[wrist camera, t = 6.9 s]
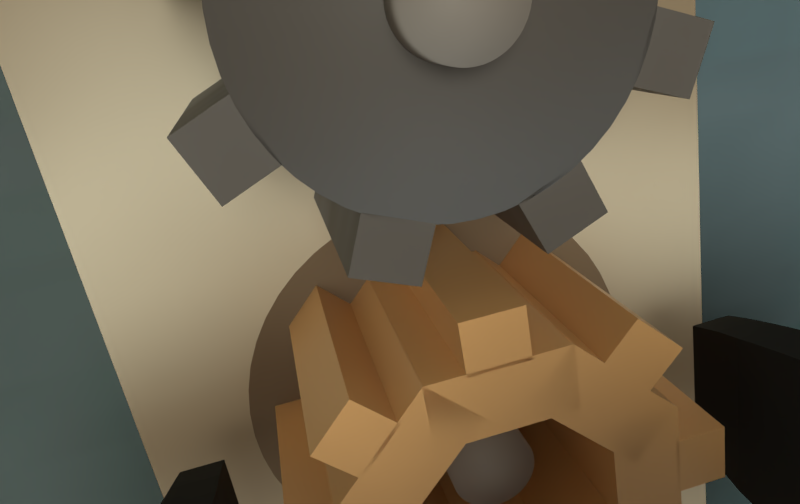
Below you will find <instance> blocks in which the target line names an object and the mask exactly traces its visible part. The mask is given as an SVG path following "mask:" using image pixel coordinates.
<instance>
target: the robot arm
mask: <svg viewBox="0 0 800 504" xmlns="http://www.w3.org/2000/svg"><path fill="white" fill-rule="evenodd" d="M693 354H694V391H695V403H696V404H698V405H699V406H700V407H701V408H702V409H704V410H705V411H706V412H707V413H708V414H710V415H711V416H712V417H713V418H714V419H716V420H717V421H718V422H719V423H720V424H722V425H723V426H724V427H725V474H726V475H727V477H728V478H729V479H730V480H731V481H732V483H733V484H734V485H735V486H736V487H737V488H738V490H739V491H740V492H741V493H742V494H743V495H744V496H745V497H746V498H747V499H748V500H749V501H750V502H751V503H752V504H800V330H797V329H793V328H789V327H785V326H780V325H776V324H771V323H767V322H762V321H757V320H752V319H747V318H740V317H734V316H725V317H722V318H718V319H715V320H711V321H708V322H704V323H701V324H697V325H694V326H693ZM161 504H239V503H238V500H237V497H236V494H235V490H234V487H233V484H232V481H231V478H230V475H229V472H228V469H227V466H226V463H225V460H221V461H217V462H214V463H210V464H207V465H203V466H200V467H196V468H193V469H189V470H186V471H182V472H180V473H179V474H178V476H177V478H176V479H175V481H174V482H173V484H172V486H171V487H170V489H169V491H168V492H167V494H166V496H165V497H164V499H163V501H162V503H161Z"/></svg>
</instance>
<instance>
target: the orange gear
mask: <svg viewBox="0 0 800 504" xmlns="http://www.w3.org/2000/svg"><path fill="white" fill-rule="evenodd" d="M289 329H290V335H291V341H292V348H293V354H294V360H295V366H296V372H297V378H298V385H299V391H300V397H301V399H299V400H295V401H292V402H288V403H284V404H281V405H277V406H275V412H276V423H277V434H278V445H279V456H280V467H281V478H282V489H283V500H284V504H471V503H468V502H467V501H465V500H464V499H462V498H461V497H460V496H459V495H458V493H457V492H456V490H455V488H454V486H453V483H452V481H451V479H450V477H449V475H448V473H447V469H448V468H449V466H450V465H451V464H452V462H453V461H454V459H455V458H456V457H457V455H458V454H459V453H460V451H461V450H462V448H463V447H464V446H465V444H467V443H470V442H474V441H477V440H480V439H484V438H487V437H490V436H494V435H497V434H500V433H504V432H507V431H511V430H514V429H517V428H518V429H519V431H520V432H521V434H522V435H523V437H524V438H525V440H526V441H527V443H528V444H529V445H530V447H531V449H532V451H533V455H534V469H533V473H532V475H531V478H530V480H529V481H528V483H527V484H526V486H525V487H524V488H523V489H522V490H521V491H520V492H519V493H518V494H517V495H516V496H514V497H513V498H511V499H510V500H508V501H506V502H503V503H501V504H682V502H681V491H683V490H686V489H689V488H692V487H695V486H698V485H701V484H705V483H708V482H711V481H714V480H717V479H720V478H723V477H725V427H724V426H723V425H722V424H720V423H719V422H718V421H717V420H716V419H714V418H713V417H712V416H711V415H710V414H708V413H707V412H706V411H705V410H704V409H702V408H701V407H700V406H699V405H698V404H696V403H695V402H694V401H693V400H691V399H690V398H689V397H688V396H687V395H685V394H684V393H683V392H682V391H681V390H679V389H678V388H677V387H676V386H675V385H673V384H672V383H671V382H670V381H669V380H667V379H666V378H665V377H664V376H662V375H663V374H664V372H665V371H666V370H667V368H668V367H669V366H670V365H671V363H672V362H673V361H674V359H675V358H676V357H677V355H678V354H679V353H680V352H681V350H682V349H683V348H682V347H681V346H679V345H678V344H677V343H675V342H674V341H673V340H671V339H670V338H668V337H667V336H666V335H664V334H663V333H662V332H660V331H659V330H657V329H656V328H655V327H653V326H652V325H651V324H649V323H648V322H646V321H645V320H644V319H642V318H641V317H640V316H638V315H637V314H635V313H634V312H633V311H631V310H630V309H629V308H627V307H626V306H625V305H623V304H622V303H620V302H619V301H618V300H616V299H615V298H614V297H612V296H611V295H609V294H608V293H607V292H605V291H604V290H603V289H601V288H600V287H598V286H597V285H596V284H594V283H593V282H592V281H590V280H589V279H587V278H586V277H585V276H583V275H582V274H581V273H579V272H578V271H576V270H575V269H574V268H572V267H571V266H570V265H568V264H567V263H565V262H564V261H563V260H561V259H560V258H559V257H557V256H556V255H554V254H553V253H549V254H547V253H546V252H544V251H543V250H542V249H540V248H539V247H538V246H536V245H535V244H534V243H532V242H531V241H530V240H528V239H527V238H526V237H524V236H523V235H522V234H521V235H520V237H519V238H518V239H517V241H516V242H515V244H514V245H513V247H512V248H511V249H510V251H509V252H508V254H507V255H506V257H505V258H504V259H503V261H502V262H501V264H500V265H498V264H496V263H495V262H493V261H491V260H490V259H488V258H487V257H485V256H484V255H482V254H480V253H479V252H477V251H476V250H475V251H472V252H471V251H470V250H469V249H468V248H467V247H466V246H465V245H464V244H463V243H462V242H461V241H460V240H459V239H458V238H457V237H456V236H455V235H454V234H453V233H452V232H451V231H450V230H449V229H448V228H447V227H446V226H445V225H444V224H441V225H436V227H435V231H434V236H433V240H432V244H431V249H430V253H429V257H428V262H427V266H426V271H425V275H424V279H423V284H422V287H418V286H410V285H402V284H394V283H386V282H378V281H370V280H366V281H365V283H364V284H363V286H362V287H361V289H360V290H359V292H358V293H357V295H356V296H355V298H354V299H353V301H352V302H351V304H350V303H348V302H346V301H344V300H342V299H340V298H339V297H337V296H335V295H333V294H331V293H329V292H328V291H326V290H324V289H322V288H320V287H319V286H317V285H316V286H315V288H314V289H313V291H312V292H311V294H310V295H309V297H308V298H307V300H306V301H305V303H304V304H303V306H302V307H301V309H300V310H299V312H298V313H297V315H296V316H295V318H294V319H293V321H292V322H291V324H290V325H289Z"/></svg>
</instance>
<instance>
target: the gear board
mask: <svg viewBox="0 0 800 504" xmlns="http://www.w3.org/2000/svg"><path fill="white" fill-rule="evenodd" d="M714 22H715V21H711V20H708V19H704V18H700V17H697V16H695V0H0V65H1V68H2V71H3V73H4V76H5V79H6V81H7V84H8V87H9V89H10V92H11V95H12V97H13V100H14V103H15V105H16V108H17V111H18V113H19V116H20V118H21V121H22V124H23V126H24V129H25V132H26V134H27V137H28V140H29V142H30V145H31V148H32V150H33V153H34V156H35V158H36V161H37V164H38V166H39V169H40V171H41V174H42V177H43V179H44V182H45V185H46V187H47V190H48V193H49V195H50V198H51V201H52V203H53V206H54V209H55V211H56V214H57V217H58V219H59V222H60V224H61V227H62V230H63V232H64V235H65V238H66V240H67V243H68V246H69V248H70V251H71V254H72V256H73V259H74V262H75V264H76V267H77V270H78V272H79V275H80V277H81V280H82V283H83V285H84V288H85V291H86V293H87V296H88V299H89V301H90V304H91V307H92V309H93V312H94V315H95V317H96V320H97V323H98V325H99V328H100V330H101V333H102V336H103V338H104V341H105V344H106V346H107V349H108V352H109V354H110V357H111V360H112V362H113V365H114V368H115V370H116V373H117V375H118V378H119V381H120V383H121V386H122V389H123V391H124V394H125V397H126V399H127V402H128V405H129V407H130V410H131V413H132V415H133V418H134V421H135V423H136V426H137V428H138V431H139V434H140V436H141V439H142V442H143V444H144V447H145V450H146V452H147V455H148V458H149V460H150V463H151V466H152V468H153V471H154V474H155V476H156V479H157V481H158V484H159V487H160V489H161V492H162V495H163V497H165V496H166V494H167V492H168V491H169V489H170V487H171V486H172V484H173V482H174V481H175V479H176V478H177V476H178V474H179V473H180V472H182V471H186V470H189V469H193V468H196V467H200V466H203V465H207V464H210V463H214V462H217V461H221V460H225V463H226V466H227V469H228V472H229V475H230V478H231V481H232V484H233V487H234V490H235V494H236V497H237V500H238V503H239V504H284V500H283V489H282V478H281V467H280V456H279V445H278V434H277V423H276V412H275V406H277V405H281V404H284V403H288V402H292V401H295V400H299V399H301V397H300V391H299V385H298V378H297V372H296V366H295V360H294V354H293V348H292V341H291V335H290V329H289V325H290V324H291V322H292V321H293V319H294V318H295V316H296V315H297V313H298V312H299V310H300V309H301V307H302V306H303V304H304V303H305V301H306V300H307V298H308V297H309V295H310V294H311V292H312V291H313V289H314V288H315V286H316V285H317V286H319V287H320V288H322V289H324V290H326V291H328V292H329V293H331V294H333V295H335V296H337V297H339V298H340V299H342V300H344V301H346V302H348V303H350V304H351V302H352V301H353V299H354V298H355V296H356V295H357V293H358V292H359V290H360V289H361V287H362V286H363V284H364V283H365V281H366V280H370V281H378V282H386V283H394V284H402V285H410V286H418V287H422V284H423V279H424V275H425V271H426V266H427V262H428V257H429V253H430V249H431V244H432V240H433V236H434V231H435V227H436V225H441V224H444V225H445V226H446V227H447V228H448V229H449V230H450V231H451V232H452V233H453V234H454V235H455V236H456V237H457V238H458V239H459V240H460V241H461V242H462V243H463V244H464V245H465V246H466V247H467V248H468V249H469V250H470V251H471V252H472V251H475V250H476V251H477V252H479V253H480V254H482V255H484V256H485V257H487V258H488V259H490V260H491V261H493V262H495V263H496V264H498V265H500V264H501V262H502V261H503V259H504V258H505V257H506V255H507V254H508V252H509V251H510V249H511V248H512V247H513V245H514V244H515V242H516V241H517V239H518V238H519V237H520V235H521V234H522V235H523V236H524V237H526V238H527V239H528V240H530V241H531V242H532V243H534V244H535V245H536V246H538V247H539V248H540V249H542V250H543V251H544V252H546V253H547V254H549V253H553V254H554V255H556V256H557V257H559V258H560V259H561V260H563V261H564V262H565V263H567V264H568V265H570V266H571V267H572V268H574V269H575V270H576V271H578V272H579V273H581V274H582V275H583V276H585V277H586V278H587V279H589V280H590V281H592V282H593V283H594V284H596V285H597V286H598V287H600V288H601V289H603V290H604V291H605V292H607V293H608V294H609V295H611V296H612V297H614V298H615V299H616V300H618V301H619V302H620V303H622V304H623V305H625V306H626V307H627V308H629V309H630V310H631V311H633V312H634V313H635V314H637V315H638V316H640V317H641V318H642V319H644V320H645V321H646V322H648V323H649V324H651V325H652V326H653V327H655V328H656V329H657V330H659V331H660V332H662V333H663V334H664V335H666V336H667V337H668V338H670V339H671V340H673V341H674V342H675V343H677V344H678V345H679V346H681V347H682V348H683V349H682V350H681V352H680V353H679V354H678V355H677V357H676V358H675V359H674V361H673V362H672V363H671V365H670V366H669V367H668V368H667V370H666V371H665V372H664V374H663V375H662V376H664V377H665V378H666V379H667V380H669V381H670V382H671V383H672V384H673V385H675V386H676V387H677V388H678V389H679V390H681V391H682V392H683V393H684V394H685V395H687V396H688V397H689V398H690V399H691V400H693V401H694V402H695V391H694V354H693V326H694V325H697V324H701V323H702V297H701V251H700V204H699V158H698V112H697V75H698V72H699V69H700V66H701V62H702V59H703V56H704V53H705V50H706V47H707V44H708V40H709V37H710V34H711V31H712V28H713V25H714ZM533 469H534V455H533V451H532V449H531V447H530V445H529V444H528V443H527V441H526V440H525V438H524V437H523V435H522V434H521V432H520V431H519V429H518V428H517V429H514V430H511V431H507V432H504V433H500V434H497V435H494V436H490V437H487V438H484V439H480V440H477V441H474V442H470V443H467V444H465V446H464V447H463V448H462V450H461V451H460V453H459V454H458V455H457V457H456V458H455V459H454V461H453V462H452V464H451V465H450V466H449V468H448V469H447V473H448V475H449V477H450V479H451V481H452V483H453V486H454V488H455V490H456V492H457V493H458V495H459V496H460V497H461V498H462V499H464V500H465V501H467V502H468V503H471V504H501V503H503V502H506V501H508V500H510V499H511V498H513V497H514V496H516V495H517V494H518V493H519V492H520V491H521V490H522V489H523V488H524V487H525V486H526V484H527V483H528V481H529V480H530V478H531V475H532V473H533ZM681 502H682V504H706V483H705V484H701V485H698V486H695V487H692V488H689V489H686V490H683V491H681Z"/></svg>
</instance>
